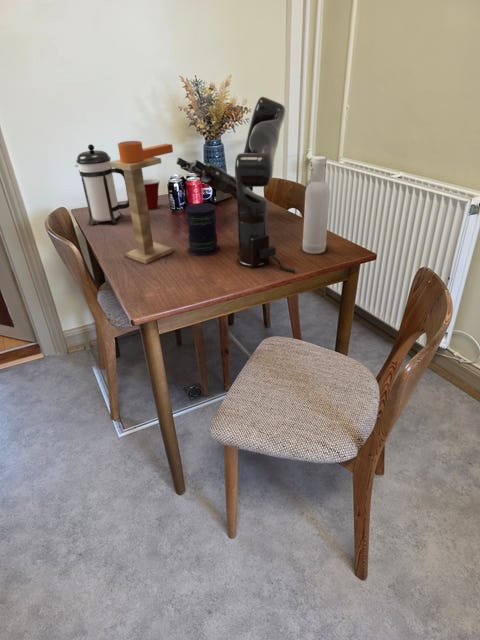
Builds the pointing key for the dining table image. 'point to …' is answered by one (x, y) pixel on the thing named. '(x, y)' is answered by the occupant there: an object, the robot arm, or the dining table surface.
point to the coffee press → (99, 185)
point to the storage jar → (201, 228)
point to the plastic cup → (151, 192)
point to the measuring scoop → (140, 151)
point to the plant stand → (140, 211)
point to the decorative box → (220, 195)
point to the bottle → (316, 210)
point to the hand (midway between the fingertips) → (186, 161)
